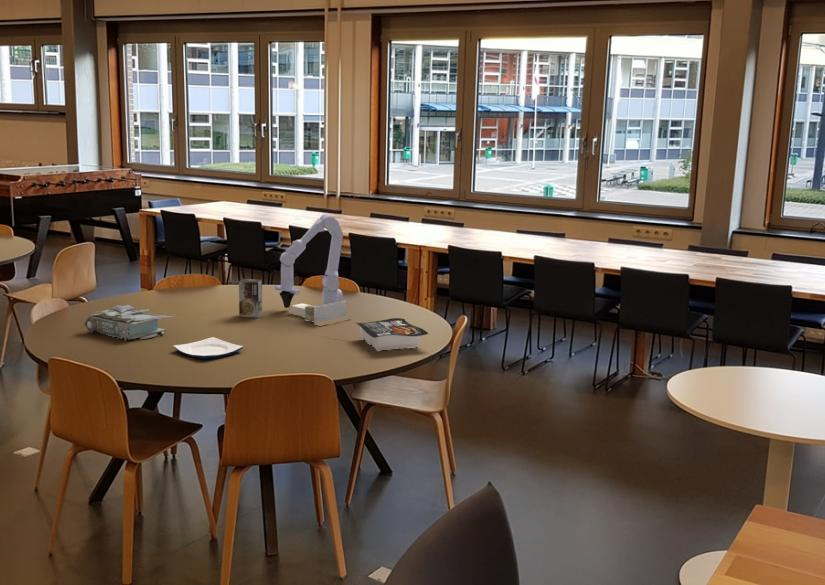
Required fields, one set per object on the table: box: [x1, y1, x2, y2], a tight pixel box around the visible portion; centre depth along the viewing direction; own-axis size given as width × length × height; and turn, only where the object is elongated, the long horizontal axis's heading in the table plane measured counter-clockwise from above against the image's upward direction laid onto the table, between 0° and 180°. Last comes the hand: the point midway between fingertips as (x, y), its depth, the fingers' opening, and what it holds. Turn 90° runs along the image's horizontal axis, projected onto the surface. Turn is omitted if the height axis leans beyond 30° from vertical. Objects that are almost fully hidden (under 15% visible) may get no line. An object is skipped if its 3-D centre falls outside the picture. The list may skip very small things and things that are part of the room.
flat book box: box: [288, 303, 317, 316], centre depth 380 cm, size 8×12×4 cm, turn 51°
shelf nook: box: [304, 303, 331, 321], centre depth 372 cm, size 14×8×6 cm, turn 141°
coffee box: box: [238, 278, 263, 318], centre depth 373 cm, size 9×6×16 cm
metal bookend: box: [313, 300, 347, 324], centre depth 368 cm, size 19×4×8 cm, turn 141°
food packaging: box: [356, 317, 429, 351], centre depth 336 cm, size 25×8×23 cm
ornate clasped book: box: [83, 304, 175, 342], centre depth 338 cm, size 23×10×30 cm
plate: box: [172, 336, 244, 360], centre depth 316 cm, size 20×20×3 cm
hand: (287, 307), depth 387 cm, fingers closed
